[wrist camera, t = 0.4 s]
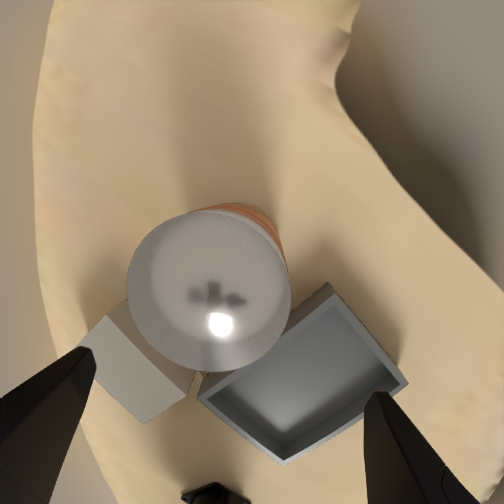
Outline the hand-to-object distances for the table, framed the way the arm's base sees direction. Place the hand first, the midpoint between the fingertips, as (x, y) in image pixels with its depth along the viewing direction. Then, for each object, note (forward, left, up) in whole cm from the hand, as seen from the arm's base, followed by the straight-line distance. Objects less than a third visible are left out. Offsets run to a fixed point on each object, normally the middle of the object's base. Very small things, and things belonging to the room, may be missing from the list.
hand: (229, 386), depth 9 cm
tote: (-3, -10, -17) cm, 20 cm away
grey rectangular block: (-13, +1, -17) cm, 22 cm away
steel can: (0, +2, -17) cm, 17 cm away
